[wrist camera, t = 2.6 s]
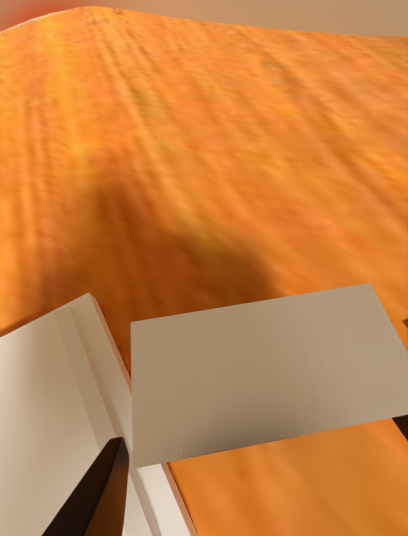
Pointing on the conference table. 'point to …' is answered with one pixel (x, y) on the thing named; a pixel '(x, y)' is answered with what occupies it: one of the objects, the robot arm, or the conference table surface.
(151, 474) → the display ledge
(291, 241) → the conference table surface
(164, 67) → the conference table surface
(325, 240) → the conference table surface
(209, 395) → the tall brushed metal block
